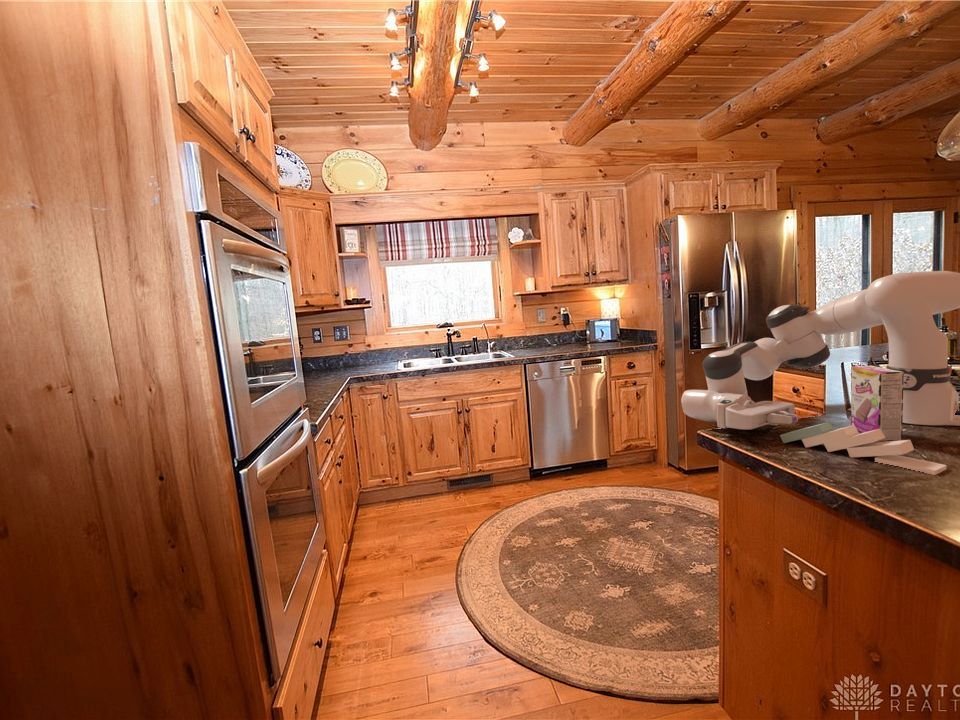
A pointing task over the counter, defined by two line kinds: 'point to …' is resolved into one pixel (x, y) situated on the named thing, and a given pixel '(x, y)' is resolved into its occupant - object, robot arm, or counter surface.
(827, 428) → the domino
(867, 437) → the domino
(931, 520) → the counter surface
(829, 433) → the domino
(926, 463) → the domino
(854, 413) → the candy bar box
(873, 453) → the domino
